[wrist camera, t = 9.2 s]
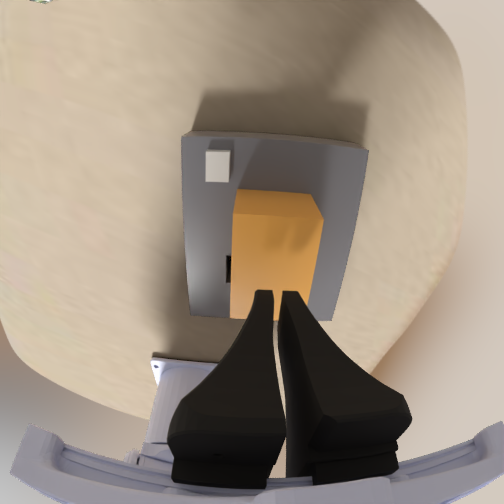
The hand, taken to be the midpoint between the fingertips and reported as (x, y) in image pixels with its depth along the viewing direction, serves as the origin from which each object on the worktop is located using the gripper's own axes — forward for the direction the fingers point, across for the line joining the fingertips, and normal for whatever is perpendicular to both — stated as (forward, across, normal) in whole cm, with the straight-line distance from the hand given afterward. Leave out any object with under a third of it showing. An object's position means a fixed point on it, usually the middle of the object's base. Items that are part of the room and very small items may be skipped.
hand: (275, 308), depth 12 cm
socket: (+8, 0, 0) cm, 8 cm away
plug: (+8, 0, 0) cm, 8 cm away
